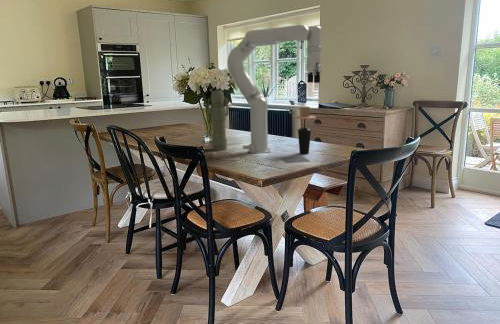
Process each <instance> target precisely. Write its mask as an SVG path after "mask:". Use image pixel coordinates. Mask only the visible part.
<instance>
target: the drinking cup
mask: <svg viewBox="0 0 500 324" xmlns="http://www.w3.org/2000/svg"><path fill="white" fill-rule="evenodd" d="M296 130H297V137H298V146H299V147H298V149H299V154H300V155H309V154H310V144H311V135H312V134H311V133H312V129H311V128H309V127H306V119H303V126H302V127H300V128H298V129H296Z"/></svg>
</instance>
